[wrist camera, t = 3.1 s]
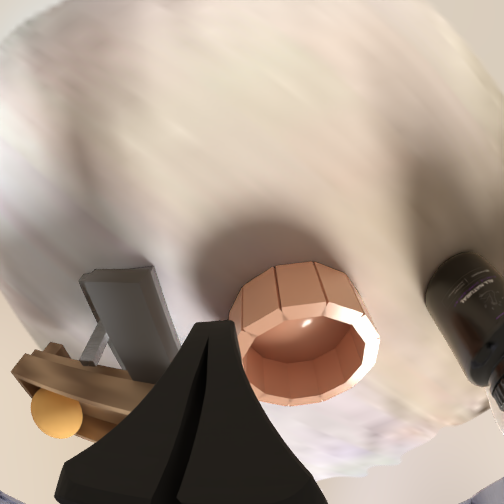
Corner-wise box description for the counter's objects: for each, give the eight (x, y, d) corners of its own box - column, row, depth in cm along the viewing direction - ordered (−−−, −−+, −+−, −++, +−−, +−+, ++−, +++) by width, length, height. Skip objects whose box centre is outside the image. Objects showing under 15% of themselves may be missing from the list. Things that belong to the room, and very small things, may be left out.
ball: (93, 416, 19) (69, 454, 16) (53, 388, 19) (27, 423, 16) (90, 397, 17) (62, 440, 14) (45, 365, 17) (15, 404, 14)
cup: (319, 372, 27) (327, 412, 23) (213, 345, 25) (208, 388, 21) (383, 288, 22) (406, 327, 18) (264, 242, 20) (268, 281, 16)
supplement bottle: (451, 237, 20) (549, 340, 10) (495, 262, 21) (575, 349, 11) (407, 308, 23) (471, 426, 13) (455, 322, 24) (515, 418, 14)
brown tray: (81, 390, 23) (58, 428, 19) (5, 257, 16) (-38, 294, 12) (233, 419, 20) (220, 474, 16) (184, 250, 13) (138, 317, 10)
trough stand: (134, 378, 27) (116, 443, 20) (83, 274, 21) (37, 340, 15) (193, 378, 27) (183, 449, 20) (153, 266, 21) (120, 341, 14)
